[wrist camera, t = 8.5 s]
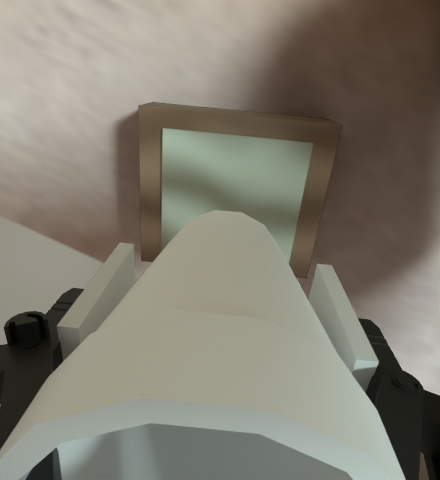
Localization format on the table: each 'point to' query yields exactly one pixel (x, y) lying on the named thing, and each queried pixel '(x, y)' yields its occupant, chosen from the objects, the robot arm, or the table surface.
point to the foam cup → (206, 378)
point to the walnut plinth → (234, 173)
